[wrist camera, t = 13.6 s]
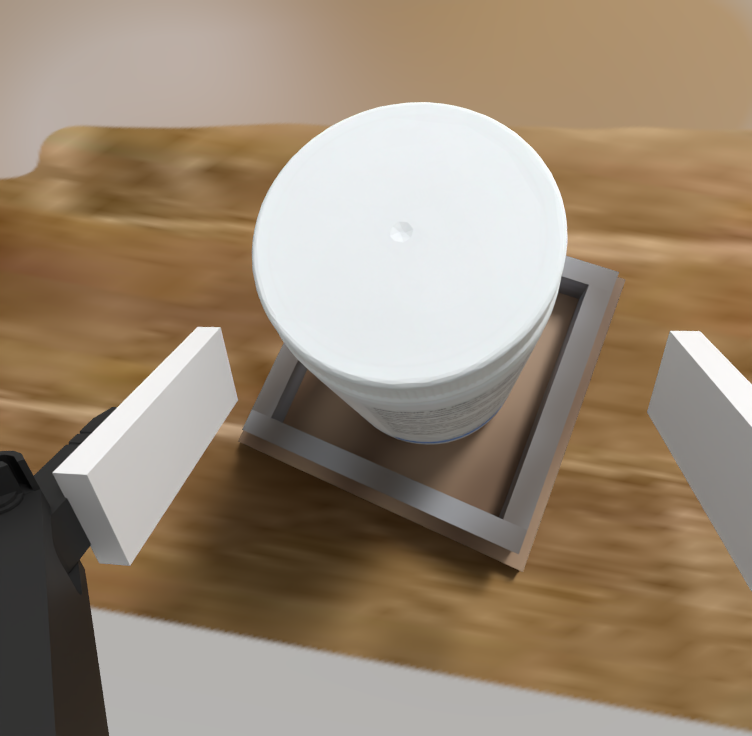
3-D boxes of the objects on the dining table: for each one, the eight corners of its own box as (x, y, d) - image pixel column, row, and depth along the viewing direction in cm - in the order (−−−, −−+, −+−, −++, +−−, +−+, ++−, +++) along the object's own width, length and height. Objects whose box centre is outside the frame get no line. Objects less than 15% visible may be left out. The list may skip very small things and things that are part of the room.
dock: (243, 442, 29) (223, 437, 27) (357, 203, 32) (349, 176, 30) (520, 569, 26) (529, 578, 23) (620, 285, 29) (639, 263, 26)
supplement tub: (539, 324, 28) (636, 149, 14) (470, 477, 26) (499, 459, 12) (387, 263, 30) (335, 58, 16) (315, 401, 28) (187, 310, 14)
